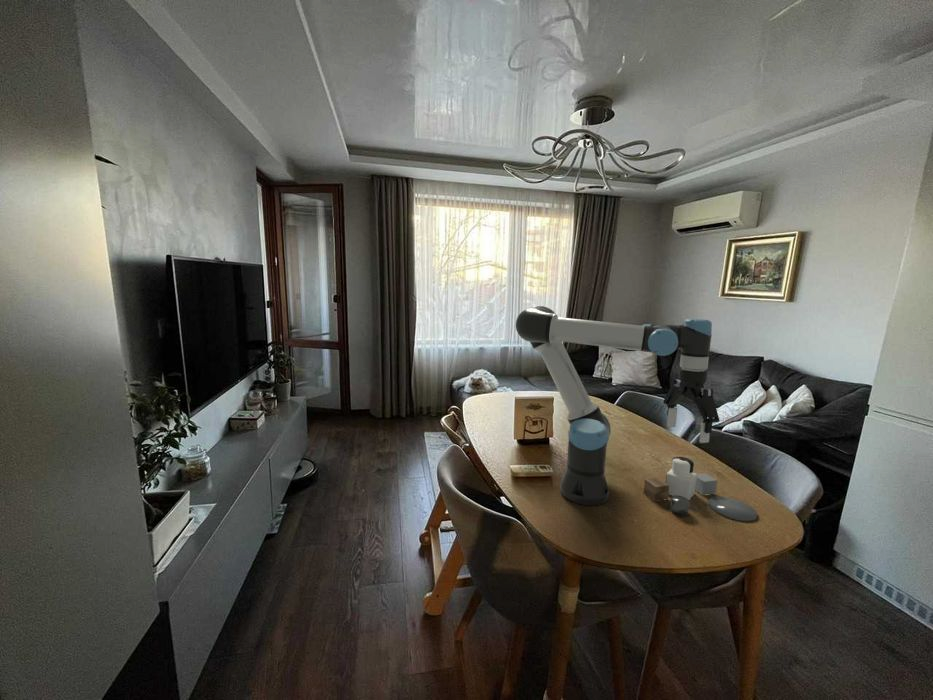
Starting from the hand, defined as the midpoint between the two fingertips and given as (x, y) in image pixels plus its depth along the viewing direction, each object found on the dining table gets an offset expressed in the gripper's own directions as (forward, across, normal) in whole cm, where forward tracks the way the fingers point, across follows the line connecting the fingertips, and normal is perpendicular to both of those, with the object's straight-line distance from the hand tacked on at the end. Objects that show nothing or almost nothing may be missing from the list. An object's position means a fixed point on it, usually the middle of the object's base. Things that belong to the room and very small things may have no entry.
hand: (686, 434), depth 122 cm
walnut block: (+21, 0, +9) cm, 23 cm away
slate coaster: (+21, -11, -9) cm, 25 cm away
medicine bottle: (+21, 0, 0) cm, 21 cm away
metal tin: (+21, -9, +8) cm, 24 cm away
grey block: (+21, 0, -9) cm, 22 cm away
